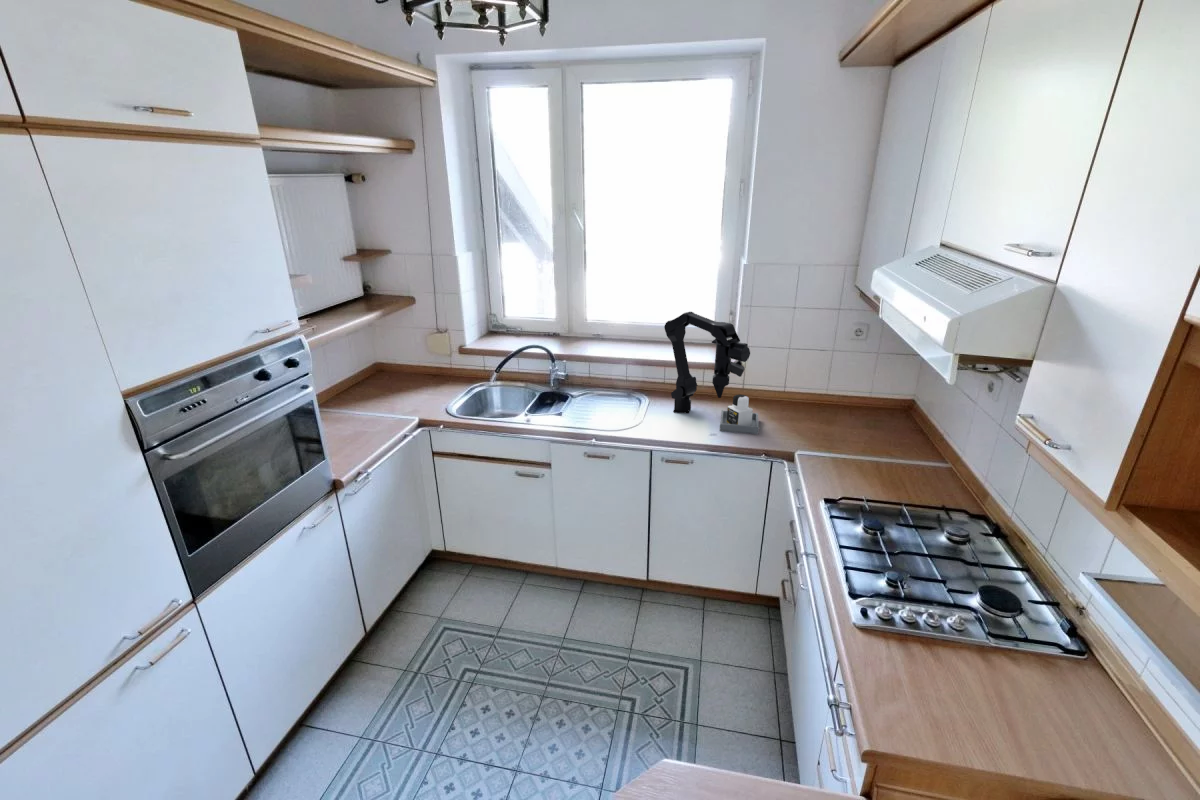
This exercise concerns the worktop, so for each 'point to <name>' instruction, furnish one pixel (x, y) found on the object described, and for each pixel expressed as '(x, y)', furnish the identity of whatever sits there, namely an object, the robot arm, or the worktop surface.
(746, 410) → the medicine bottle
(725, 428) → the bin
